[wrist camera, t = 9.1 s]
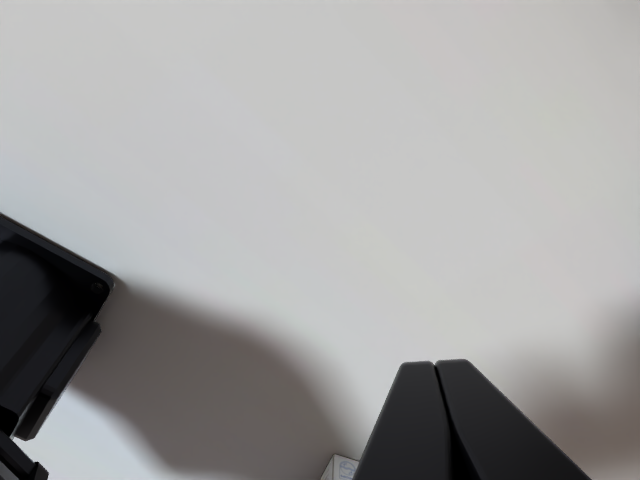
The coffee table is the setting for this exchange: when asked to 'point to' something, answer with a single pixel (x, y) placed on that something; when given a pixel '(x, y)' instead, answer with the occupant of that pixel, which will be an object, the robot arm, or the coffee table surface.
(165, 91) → the coffee table surface
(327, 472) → the light bulb box
